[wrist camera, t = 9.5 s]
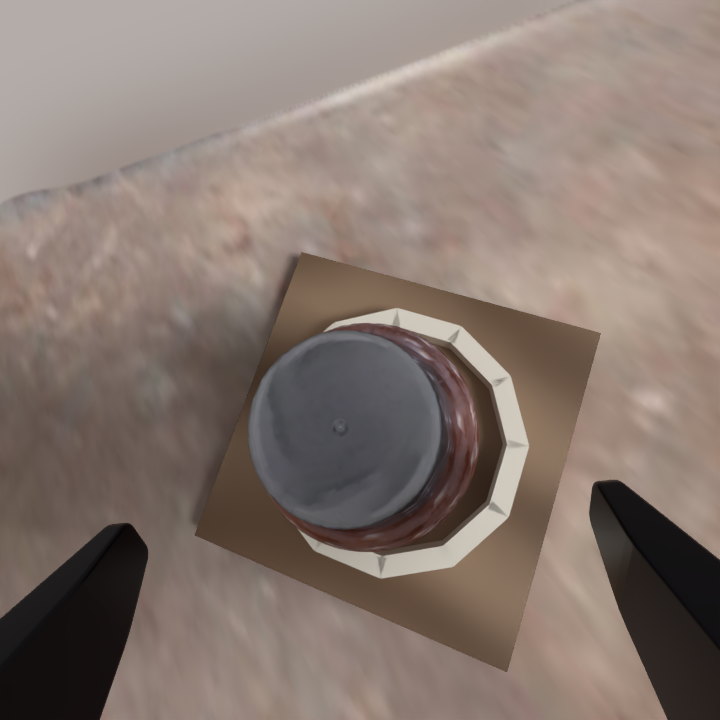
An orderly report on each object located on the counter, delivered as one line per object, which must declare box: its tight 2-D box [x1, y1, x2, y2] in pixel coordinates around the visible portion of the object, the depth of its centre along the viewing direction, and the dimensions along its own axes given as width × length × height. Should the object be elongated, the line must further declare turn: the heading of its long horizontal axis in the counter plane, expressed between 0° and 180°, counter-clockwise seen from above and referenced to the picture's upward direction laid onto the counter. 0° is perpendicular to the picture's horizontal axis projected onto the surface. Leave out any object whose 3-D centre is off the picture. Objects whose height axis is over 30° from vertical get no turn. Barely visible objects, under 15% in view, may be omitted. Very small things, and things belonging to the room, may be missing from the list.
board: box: [195, 252, 601, 672], centre depth 20 cm, size 14×14×1 cm
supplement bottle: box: [248, 323, 479, 552], centre depth 14 cm, size 6×6×11 cm
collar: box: [297, 308, 529, 579], centre depth 19 cm, size 11×11×1 cm
